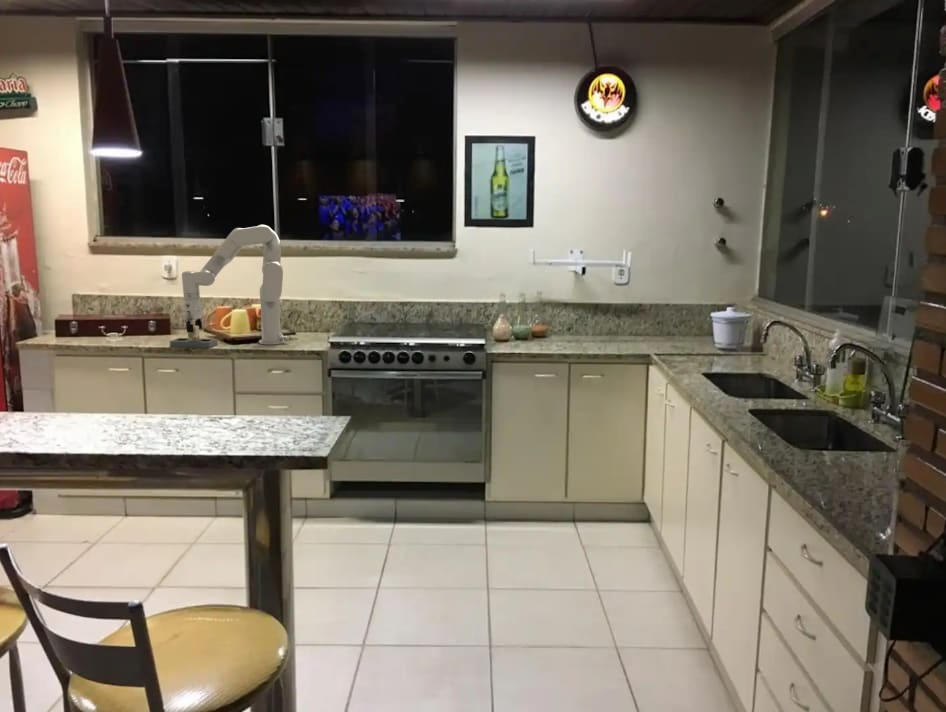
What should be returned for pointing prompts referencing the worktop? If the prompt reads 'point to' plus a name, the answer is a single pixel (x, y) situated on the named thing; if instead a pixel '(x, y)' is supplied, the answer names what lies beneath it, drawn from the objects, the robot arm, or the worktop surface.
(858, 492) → the worktop surface
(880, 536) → the worktop surface
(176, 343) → the grey compartment tray
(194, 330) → the beech peg
